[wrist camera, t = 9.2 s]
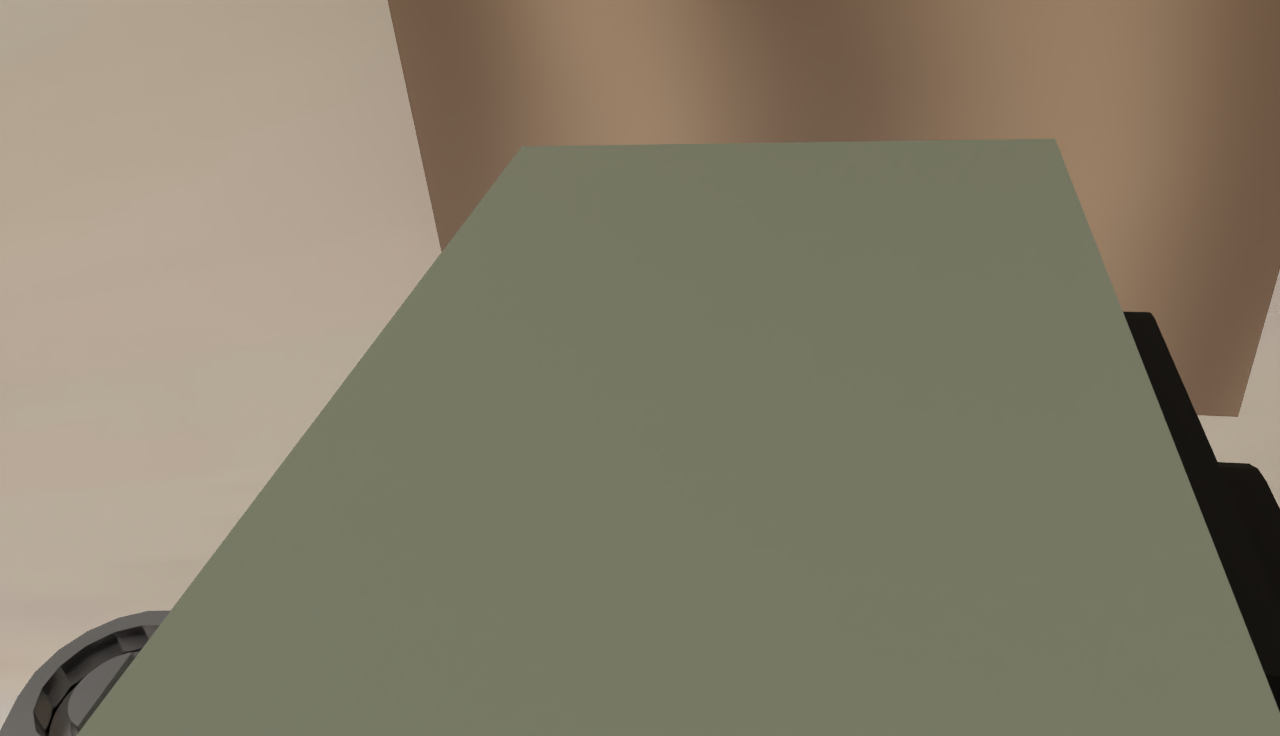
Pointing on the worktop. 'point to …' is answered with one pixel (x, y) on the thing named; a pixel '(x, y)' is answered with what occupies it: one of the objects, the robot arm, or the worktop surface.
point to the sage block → (729, 477)
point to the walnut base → (908, 116)
